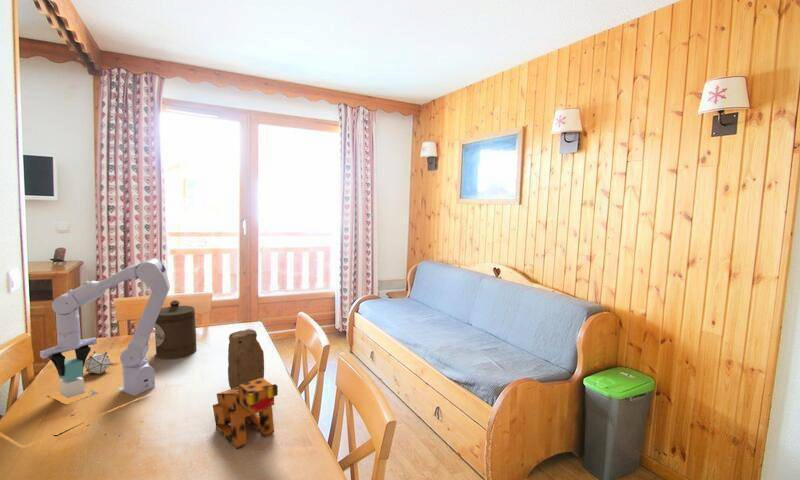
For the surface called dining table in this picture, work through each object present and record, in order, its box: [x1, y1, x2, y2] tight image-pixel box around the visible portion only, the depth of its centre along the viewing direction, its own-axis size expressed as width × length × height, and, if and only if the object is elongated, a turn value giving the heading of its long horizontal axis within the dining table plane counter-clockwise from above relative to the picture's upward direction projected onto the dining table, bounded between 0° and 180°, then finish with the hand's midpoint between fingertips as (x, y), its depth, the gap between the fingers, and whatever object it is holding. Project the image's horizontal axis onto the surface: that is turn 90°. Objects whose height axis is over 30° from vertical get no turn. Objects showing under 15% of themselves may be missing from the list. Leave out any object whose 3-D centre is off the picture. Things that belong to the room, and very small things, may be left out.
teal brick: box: [58, 357, 84, 381], centre depth 130 cm, size 5×5×5 cm
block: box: [227, 328, 265, 389], centre depth 138 cm, size 11×8×20 cm
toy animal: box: [212, 378, 279, 449], centre depth 112 cm, size 10×20×16 cm, turn 46°
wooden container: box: [154, 299, 197, 360], centre depth 168 cm, size 15×15×22 cm
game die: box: [84, 350, 114, 375], centre depth 147 cm, size 9×8×10 cm
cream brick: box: [59, 376, 85, 398], centre depth 131 cm, size 5×5×5 cm
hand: (71, 372), depth 130 cm, fingers closed on teal brick, 4 cm apart
